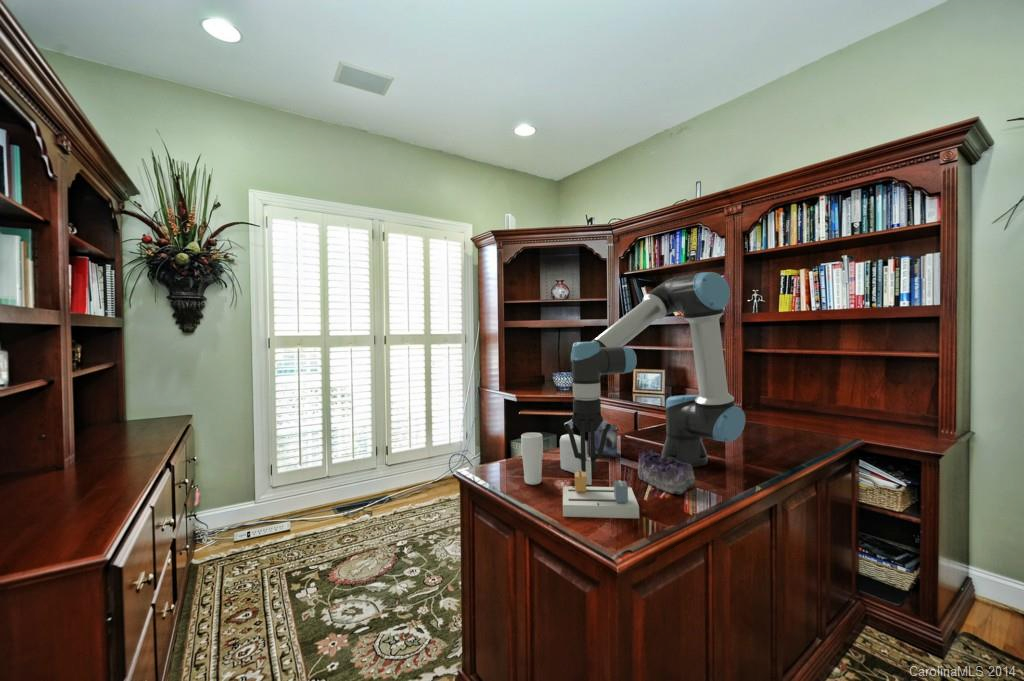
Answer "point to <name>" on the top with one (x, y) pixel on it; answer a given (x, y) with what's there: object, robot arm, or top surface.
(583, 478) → the orange fader
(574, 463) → the white slotted device
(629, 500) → the fader console
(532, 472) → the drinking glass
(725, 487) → the top surface
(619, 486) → the slate fader
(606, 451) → the small box
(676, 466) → the geode
